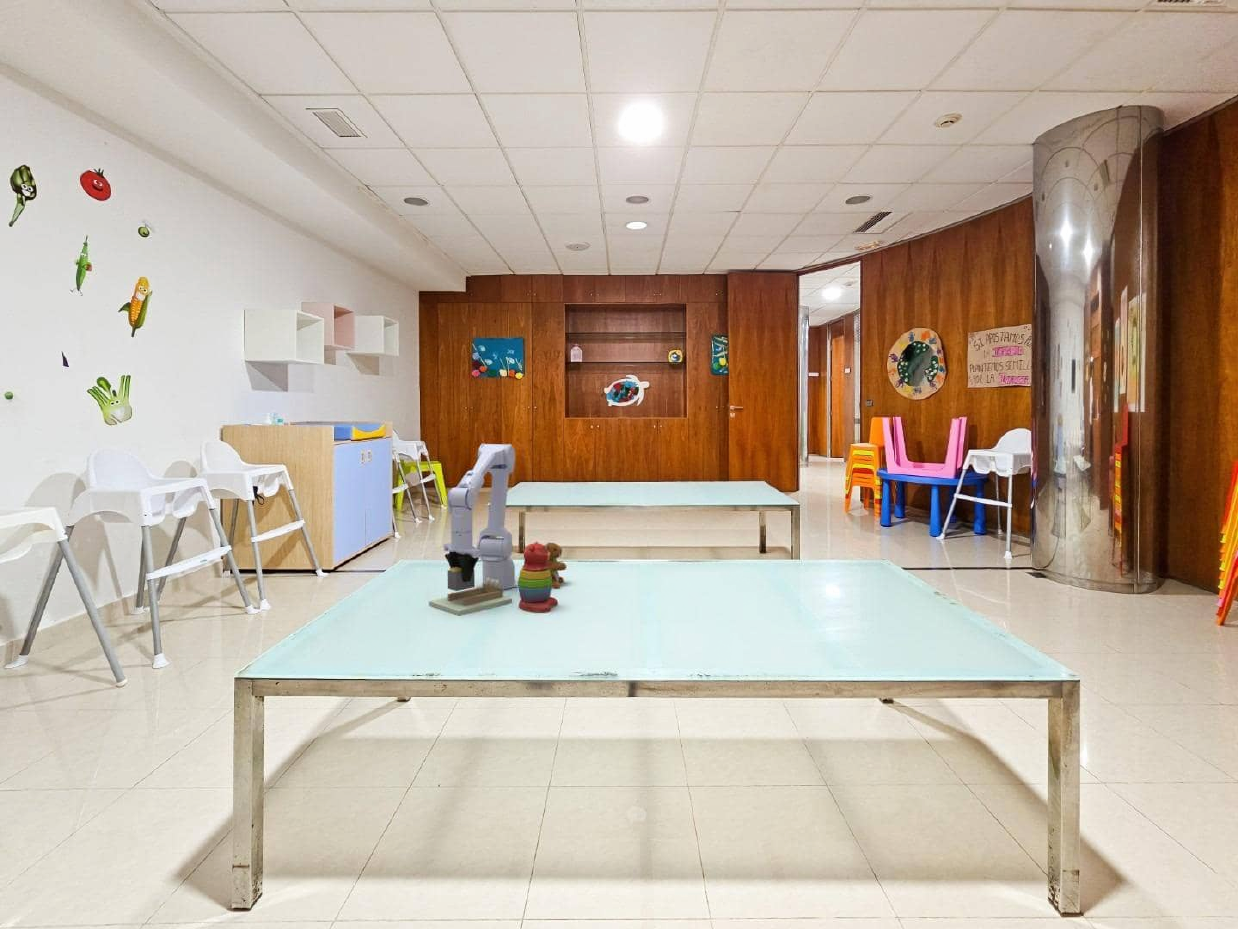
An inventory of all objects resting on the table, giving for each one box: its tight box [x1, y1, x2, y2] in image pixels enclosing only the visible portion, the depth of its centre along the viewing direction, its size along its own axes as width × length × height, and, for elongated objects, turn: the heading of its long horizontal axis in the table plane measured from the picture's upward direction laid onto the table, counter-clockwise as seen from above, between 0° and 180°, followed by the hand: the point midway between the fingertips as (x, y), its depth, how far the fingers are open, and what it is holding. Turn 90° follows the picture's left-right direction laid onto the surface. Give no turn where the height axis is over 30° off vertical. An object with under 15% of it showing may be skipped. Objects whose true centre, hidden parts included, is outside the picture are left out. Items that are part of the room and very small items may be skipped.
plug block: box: [447, 567, 476, 592], centre depth 192 cm, size 6×4×6 cm, turn 138°
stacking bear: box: [517, 541, 559, 613], centre depth 193 cm, size 11×10×18 cm
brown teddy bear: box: [523, 542, 567, 589], centre depth 219 cm, size 10×14×13 cm
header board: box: [428, 578, 513, 616], centre depth 195 cm, size 18×14×6 cm
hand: (461, 580), depth 192 cm, fingers closed on plug block, 4 cm apart
